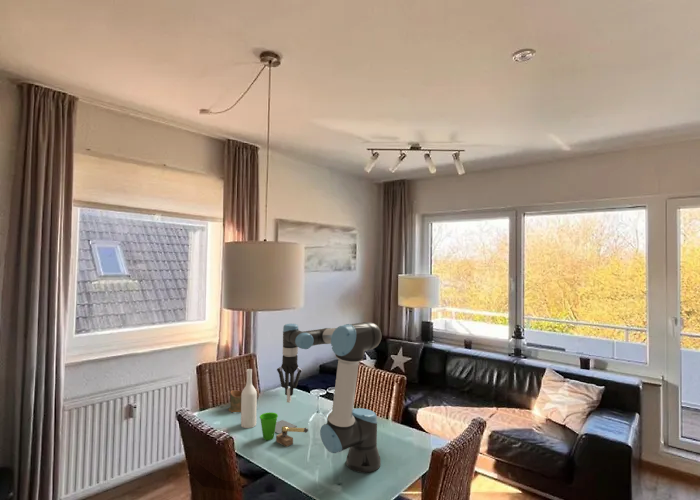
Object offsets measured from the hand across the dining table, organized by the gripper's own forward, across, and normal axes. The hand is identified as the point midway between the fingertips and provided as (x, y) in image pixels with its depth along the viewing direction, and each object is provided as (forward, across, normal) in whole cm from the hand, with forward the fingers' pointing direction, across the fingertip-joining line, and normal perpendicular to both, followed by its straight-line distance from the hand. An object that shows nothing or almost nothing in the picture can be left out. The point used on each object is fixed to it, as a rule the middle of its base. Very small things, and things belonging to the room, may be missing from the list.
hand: (288, 401), depth 197 cm
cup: (+19, +10, +2) cm, 21 cm away
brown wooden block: (+18, 0, +6) cm, 19 cm away
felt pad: (+19, +7, -11) cm, 23 cm away
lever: (+13, -5, +4) cm, 15 cm away
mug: (+20, +36, -32) cm, 52 cm away
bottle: (+19, +25, -11) cm, 33 cm away
